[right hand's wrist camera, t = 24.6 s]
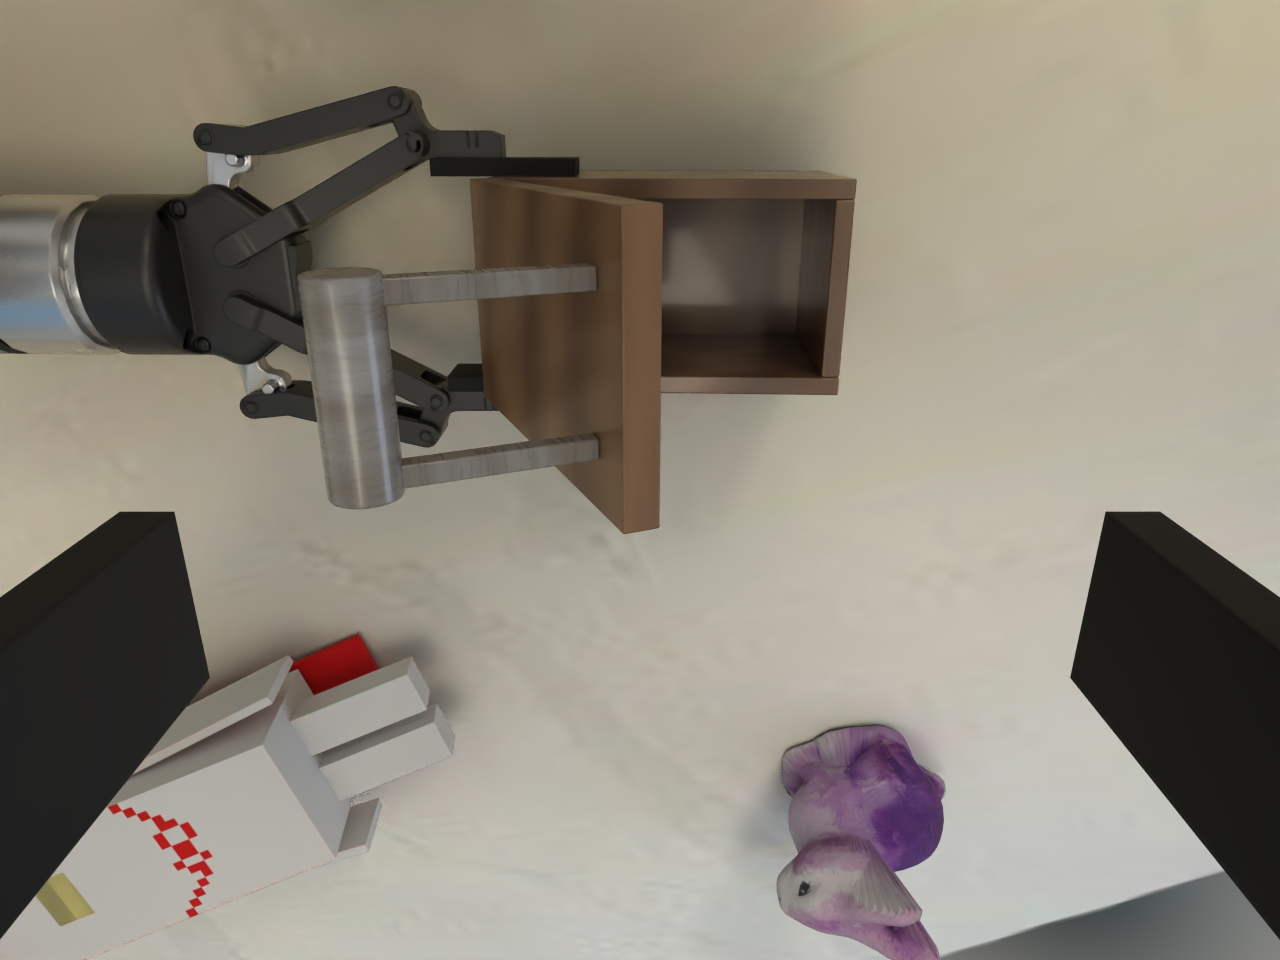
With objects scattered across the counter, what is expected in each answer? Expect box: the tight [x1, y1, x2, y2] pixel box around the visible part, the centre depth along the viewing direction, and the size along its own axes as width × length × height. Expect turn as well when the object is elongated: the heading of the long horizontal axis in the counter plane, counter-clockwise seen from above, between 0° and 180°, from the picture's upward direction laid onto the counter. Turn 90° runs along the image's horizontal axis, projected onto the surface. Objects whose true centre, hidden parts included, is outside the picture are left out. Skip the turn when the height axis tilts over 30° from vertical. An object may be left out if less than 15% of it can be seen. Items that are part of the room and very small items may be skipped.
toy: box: [0, 634, 455, 960], centre depth 54 cm, size 12×13×30 cm
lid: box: [297, 178, 663, 534], centre depth 29 cm, size 16×9×9 cm
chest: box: [488, 170, 857, 395], centre depth 43 cm, size 16×9×10 cm, turn 90°
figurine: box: [777, 725, 946, 960], centre depth 53 cm, size 9×10×15 cm
